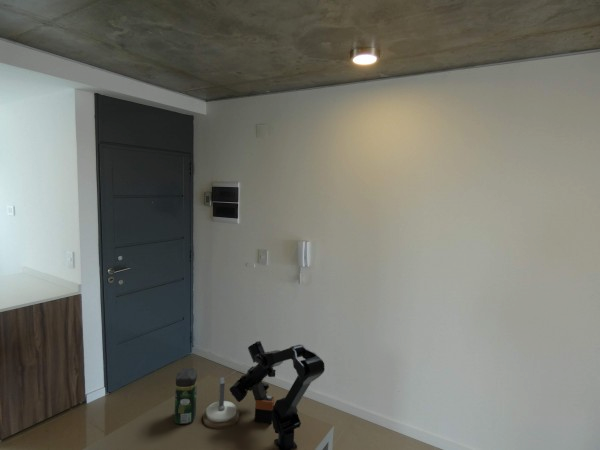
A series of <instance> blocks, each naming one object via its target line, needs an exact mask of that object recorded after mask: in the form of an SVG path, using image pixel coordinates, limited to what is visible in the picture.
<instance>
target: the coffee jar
mask: <svg viewBox="0 0 600 450" xmlns="http://www.w3.org/2000/svg"><path fill="white" fill-rule="evenodd" d="M174 384H175V386H174V387H175V388H174V390H175V392H174V393H175V394H174V419H173V421H174V423H176V424H179V425H186V424H190V423H192V422H193V421H195V418H196V413H197V386H198V385H197V384H198V372H197V370H196V369H195V368H193V367H183V368H182V369H180V370H179V371H178V372H177V375H176V376H175V383H174Z"/></svg>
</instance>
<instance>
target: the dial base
mask: <svg viewBox="0 0 600 450" xmlns="http://www.w3.org/2000/svg"><path fill="white" fill-rule="evenodd" d="M239 420H240V410H239V409H238V407H236V415H235V416H234V417H233V418H232V419H231V420H228V421H225V422H214V421H211V420H209V419H208V418H207V416H206V409H205V410H204V411H203V413H202V422H203V424H204V425H205V426H207V427H209V428H211V429H218V430H219V429H220V430H221V429H226V428H229V427H232V426H234V425H236V423H237V422H238V421H239Z"/></svg>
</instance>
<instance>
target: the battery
mask: <svg viewBox="0 0 600 450" xmlns="http://www.w3.org/2000/svg"><path fill="white" fill-rule="evenodd" d="M274 405H275V396H273V395H271V394H268V395H267V394H266V396H265V397H264V398H263V399H261V400H256V401H255V406H254V423H260V424H267V425H272V424H273V423H272V410H273V406H274Z"/></svg>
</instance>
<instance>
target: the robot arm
mask: <svg viewBox="0 0 600 450" xmlns="http://www.w3.org/2000/svg"><path fill="white" fill-rule="evenodd" d="M247 350H248V353H249V355H250V358H251V360H252V362H253V363H254V364H255V363H256V365H254V366H253V365H252V366H251V367H249V368H248V370H247V371H246V373H245V374H244V375H242V376H241V377H239V379H238V380H237V381H235V383H234V384H232V386H230V387H229V391H230V394H231V395H232V396H233V397H234V399H235V400H236V401H237V402H238V403H240V402H241V401H243V400H244V398H246V397H247V396H248V393H249V391H250V392H251V393H252V395H253V398H254V401H255V402H256V400H261V399H263V398H264V397H265V396H267V393H268V391H267V390H269V388H270V386H269V384H268V382H267V383H266V382H263V380H265V378H266V377H269V378H275V377H276V369H274V368H275V367H280V365H281V364H284V363H283V362H285V361H288V360H291V361H292V365H293V369H294V370H295V371H296V374H297V377H296V378H295V380H294V382H293V383H292V385H291V387H290V388H289V390H288V392H287V394H286V396H285V397H283V398H279V399H276V401H274V406H273V410H272V423H271V424H272V428H273V430H274V433H275V434H277V438H275V439H274V440H273V443H274V444H275V445H276V446H277V449H278V450H294V449H297V448H298V445H297V443H296V442H295V430H296V429H299V428H301V424H302V422H301V419H300V417H299V415H298V412H299V411H298V408H297V406H298V405H299V403H300V401H301V399H302V398H303V396H304V395H305V393H306V391H308V388H309V387H310V385H311V384H312V383H313V381H316V380H318V378H320V377H321V376H322V375H323V374H324V372H325V362H324V361H323V359H322V358H321V357H320V356H319V355H318V354H317V353H316V352H314V351H312V350H310V349H308V348H306V346H305V345H304V344H296V345H293V346H290V347H289V348H284V349H282V350H279V349H276V350H271V351H265V349H264V346H263V345H262V341H261V340H258V341H255V342H254V343H252V344H251V345H249V346H247ZM301 357H302V358H303V359H302V360H299V358H301Z"/></svg>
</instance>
